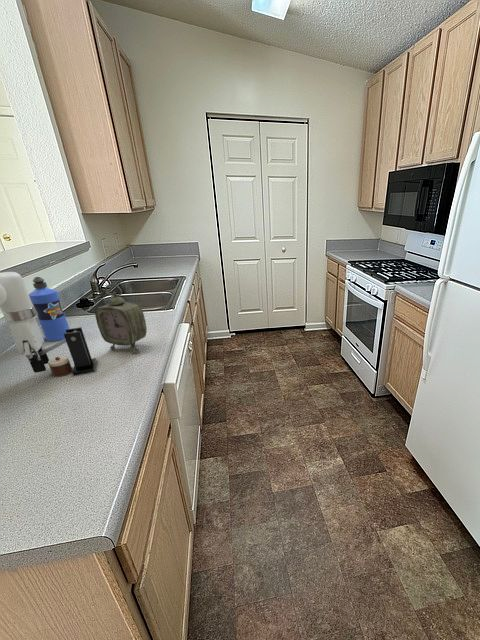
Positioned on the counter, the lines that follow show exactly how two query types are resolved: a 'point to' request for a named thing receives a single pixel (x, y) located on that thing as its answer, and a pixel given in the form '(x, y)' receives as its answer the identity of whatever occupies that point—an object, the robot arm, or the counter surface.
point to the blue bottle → (48, 310)
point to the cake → (60, 366)
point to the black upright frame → (79, 351)
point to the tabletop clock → (121, 321)
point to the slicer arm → (53, 346)
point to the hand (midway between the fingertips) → (42, 367)
